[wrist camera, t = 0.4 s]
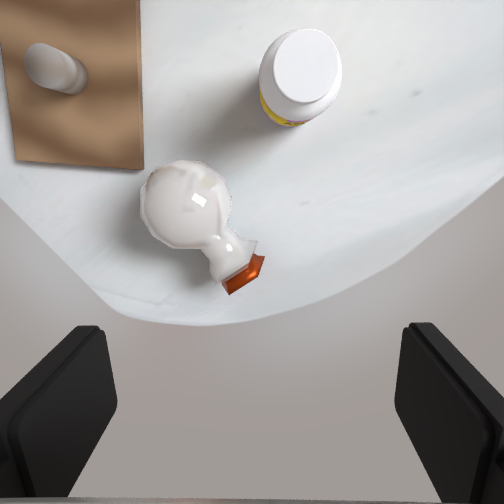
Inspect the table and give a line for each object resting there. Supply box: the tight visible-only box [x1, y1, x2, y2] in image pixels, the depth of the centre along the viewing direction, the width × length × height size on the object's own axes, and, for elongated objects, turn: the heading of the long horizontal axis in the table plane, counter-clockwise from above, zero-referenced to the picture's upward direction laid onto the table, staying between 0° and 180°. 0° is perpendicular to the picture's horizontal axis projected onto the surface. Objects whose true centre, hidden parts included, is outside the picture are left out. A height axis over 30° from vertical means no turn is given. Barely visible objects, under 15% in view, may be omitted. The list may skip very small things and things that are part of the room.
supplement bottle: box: [259, 29, 342, 127], centre depth 29 cm, size 7×7×13 cm
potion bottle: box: [140, 160, 265, 295], centre depth 36 cm, size 9×10×15 cm
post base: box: [0, 0, 144, 170], centre depth 33 cm, size 18×14×6 cm
